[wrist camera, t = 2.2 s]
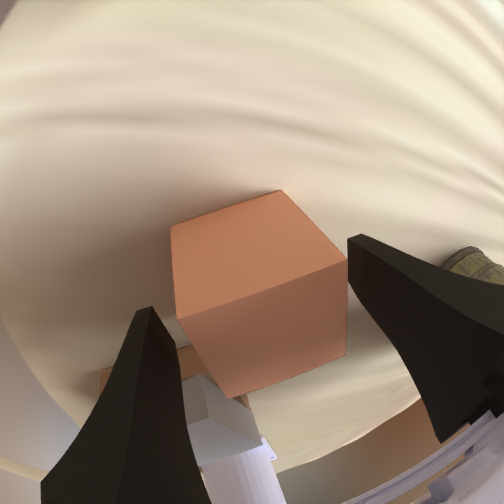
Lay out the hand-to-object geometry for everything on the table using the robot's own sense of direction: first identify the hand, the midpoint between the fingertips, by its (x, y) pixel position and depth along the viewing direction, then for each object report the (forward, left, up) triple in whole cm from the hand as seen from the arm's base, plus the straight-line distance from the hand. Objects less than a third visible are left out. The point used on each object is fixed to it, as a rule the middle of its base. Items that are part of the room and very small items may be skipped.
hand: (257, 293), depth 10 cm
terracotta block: (0, 0, -3) cm, 3 cm away
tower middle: (-8, +6, -1) cm, 10 cm away
